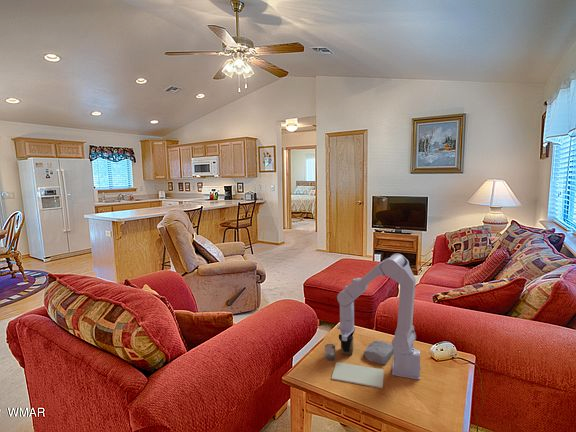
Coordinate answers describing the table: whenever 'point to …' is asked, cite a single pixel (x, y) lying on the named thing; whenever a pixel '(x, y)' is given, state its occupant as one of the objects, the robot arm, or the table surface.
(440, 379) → the table surface
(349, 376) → the sage mat
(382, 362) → the stone block
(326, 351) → the steel cylinder
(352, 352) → the walnut block
